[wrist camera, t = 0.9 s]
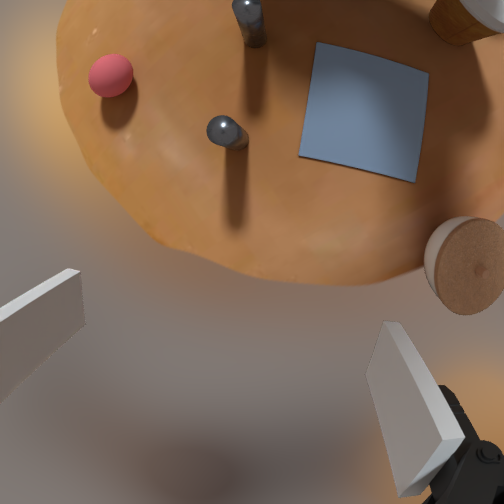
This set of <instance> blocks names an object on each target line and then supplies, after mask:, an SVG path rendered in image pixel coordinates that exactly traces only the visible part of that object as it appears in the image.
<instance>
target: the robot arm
mask: <svg viewBox="0 0 504 504" xmlns="http://www.w3.org/2000/svg"><path fill="white" fill-rule="evenodd" d="M84 325H86V323H85V315H84V305H83V295H82V282H81V271H77V270H73V269H69V268H68V269H66V270H64V271H62V272H61V273H59V274H57V275H55V276H54V277H52V278H50V279H49V280H47V281H45V282H43V283H42V284H40V285H38V286H36V287H35V288H33V289H31V290H30V291H28V292H26V293H24V294H23V295H21V296H20V297H18V298H16V299H14V300H13V301H11V302H9V303H8V304H6V305H5V306H3V307H1V308H0V404H1V403H2V402H3V401H4V400H5V399H6V398H7V397H8V396H9V395H10V394H11V393H12V392H13V391H14V390H15V389H16V388H17V387H18V386H19V385H20V384H21V383H22V382H24V381H25V379H27V378H28V377H29V376H30V375H31V374H32V373H33V372H34V371H35V370H36V369H37V368H38V367H39V366H40V365H42V364H43V363H44V362H45V361H46V360H47V359H48V358H49V357H50V356H51V355H52V354H53V353H55V352H56V350H58V349H59V348H60V347H61V346H62V345H63V344H64V343H66V342H67V341H68V340H69V339H70V338H71V337H72V336H73V335H74V334H76V333H77V332H78V331H79V330H80V329H81V328H82V327H83V326H84ZM365 376H366V379H367V382H368V386H369V389H370V392H371V396H372V399H373V403H374V406H375V410H376V413H377V416H378V420H379V424H380V427H381V431H382V434H383V438H384V442H385V445H386V449H387V453H388V457H389V461H390V465H391V468H392V472H393V477H394V481H395V485H396V489H397V494H398V497H399V498H400V497H409V496H416V495H420V494H421V493H422V492H423V491H424V490H425V488H426V487H427V486H428V485H430V488H431V491H432V494H431V495H430V496H429V497H428V498H427V499H426V500H425V501H424V502H423V503H422V504H504V455H503V454H502V451H501V450H500V449H499V448H498V447H497V446H496V445H495V444H493V443H491V442H489V441H485V440H483V441H482V440H481V441H480V439H479V437H478V435H477V433H476V431H475V430H474V428H473V426H472V424H471V422H470V420H469V419H468V417H467V415H466V414H464V410H463V408H462V407H461V406H460V403H459V401H458V399H457V398H456V396H455V394H454V393H453V392H452V391H451V390H449V389H448V388H447V387H446V386H445V385H437V383H436V381H435V380H434V378H433V376H432V374H431V373H430V371H429V369H428V368H427V366H426V364H425V363H424V361H423V359H422V358H421V356H420V354H419V353H418V351H417V349H416V347H415V346H414V344H413V343H412V341H411V339H410V338H409V336H408V334H407V333H406V331H405V330H404V328H403V326H402V325H401V323H400V322H392V321H383V324H382V327H381V330H380V333H379V336H378V339H377V342H376V345H375V348H374V351H373V354H372V357H371V360H370V362H369V365H368V368H367V371H366V373H365Z"/></svg>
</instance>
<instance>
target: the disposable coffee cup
mask: <svg viewBox="0 0 504 504" xmlns="http://www.w3.org/2000/svg"><path fill="white" fill-rule="evenodd" d="M429 19H430V23H431V25H432V27H433V29H434V30H435V32H436V33H437V34H438V35H439V36H440V37H441V38H442V39H443V40H445V41H446V42H448V43H450V44H452V45H456V46H460V45H464V44H467V43H470V42H473V41H476V40H479V39H482V38H485V37H489V36H492V35H496V34H499V33H504V0H437V1H436V2H435V4H434V6H433V7H432V9H431V10H430V13H429Z"/></svg>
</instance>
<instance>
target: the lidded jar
mask: <svg viewBox="0 0 504 504" xmlns="http://www.w3.org/2000/svg"><path fill="white" fill-rule="evenodd" d="M424 269H425V274H426V277H427V280H428V282H429V284H430V286H431V288H432V289H433V291H434V292H435V294H436V295H437V296H438V297H439V299H440V300H441V301H442V303H443V304H444V305H445V306H446V307H447V308H448V309H449V310H451V311H452V312H454V313H456V314H459V315H472V314H476V313H478V312H481V311H483V310H484V309H486V308H488V307H489V306H490V305H491V304H492V303H493V302H494V301H495V300H496V299H497V298H498V296H499V295H500V294H501V292H502V291H503V289H504V230H503V229H502V228H501V227H500V226H499V225H498V224H496V223H495V222H493V221H490V220H487V219H483V218H477V217H472V216H460V217H454V218H451V219H449V220H447V221H445V222H444V223H442V224H441V225H440V226H438V227H437V228H436V229H435V231H434V232H433V233H432V235H431V237H430V238H429V240H428V243H427V245H426V249H425V253H424Z"/></svg>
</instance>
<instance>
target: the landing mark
mask: <svg viewBox="0 0 504 504" xmlns="http://www.w3.org/2000/svg"><path fill="white" fill-rule="evenodd" d="M428 80H429V74H428V73H426V72H423V71H420V70H418V69H415V68H412V67H409V66H406V65H403V64H400V63H397V62H394V61H391V60H388V59H384V58H381V57H377V56H374V55H370V54H367V53H363V52H359V51H355V50H351V49H347V48H343V47H339V46H334V45H330V44H325V43H320V42H317V44H316V51H315V57H314V64H313V71H312V77H311V83H310V90H309V96H308V102H307V108H306V115H305V121H304V127H303V133H302V138H301V144H300V150H299V156H304V157H309V158H314V159H319V160H324V161H329V162H333V163H338V164H342V165H347V166H351V167H355V168H360V169H364V170H368V171H372V172H376V173H380V174H384V175H388V176H391V177H395V178H399V179H402V180H406V181H410V182H413V183H415V180H416V174H417V169H418V163H419V157H420V150H421V144H422V137H423V129H424V121H425V113H426V103H427V93H428Z"/></svg>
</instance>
